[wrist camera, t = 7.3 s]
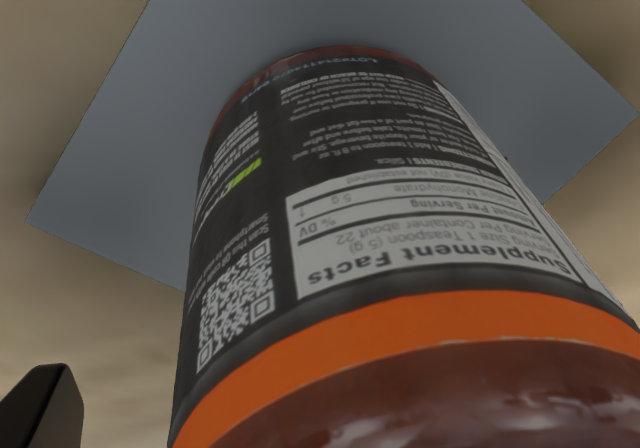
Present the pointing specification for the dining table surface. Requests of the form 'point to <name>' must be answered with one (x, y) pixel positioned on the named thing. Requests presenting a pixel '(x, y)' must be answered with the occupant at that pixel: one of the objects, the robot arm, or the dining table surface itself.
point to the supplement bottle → (386, 279)
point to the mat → (281, 41)
